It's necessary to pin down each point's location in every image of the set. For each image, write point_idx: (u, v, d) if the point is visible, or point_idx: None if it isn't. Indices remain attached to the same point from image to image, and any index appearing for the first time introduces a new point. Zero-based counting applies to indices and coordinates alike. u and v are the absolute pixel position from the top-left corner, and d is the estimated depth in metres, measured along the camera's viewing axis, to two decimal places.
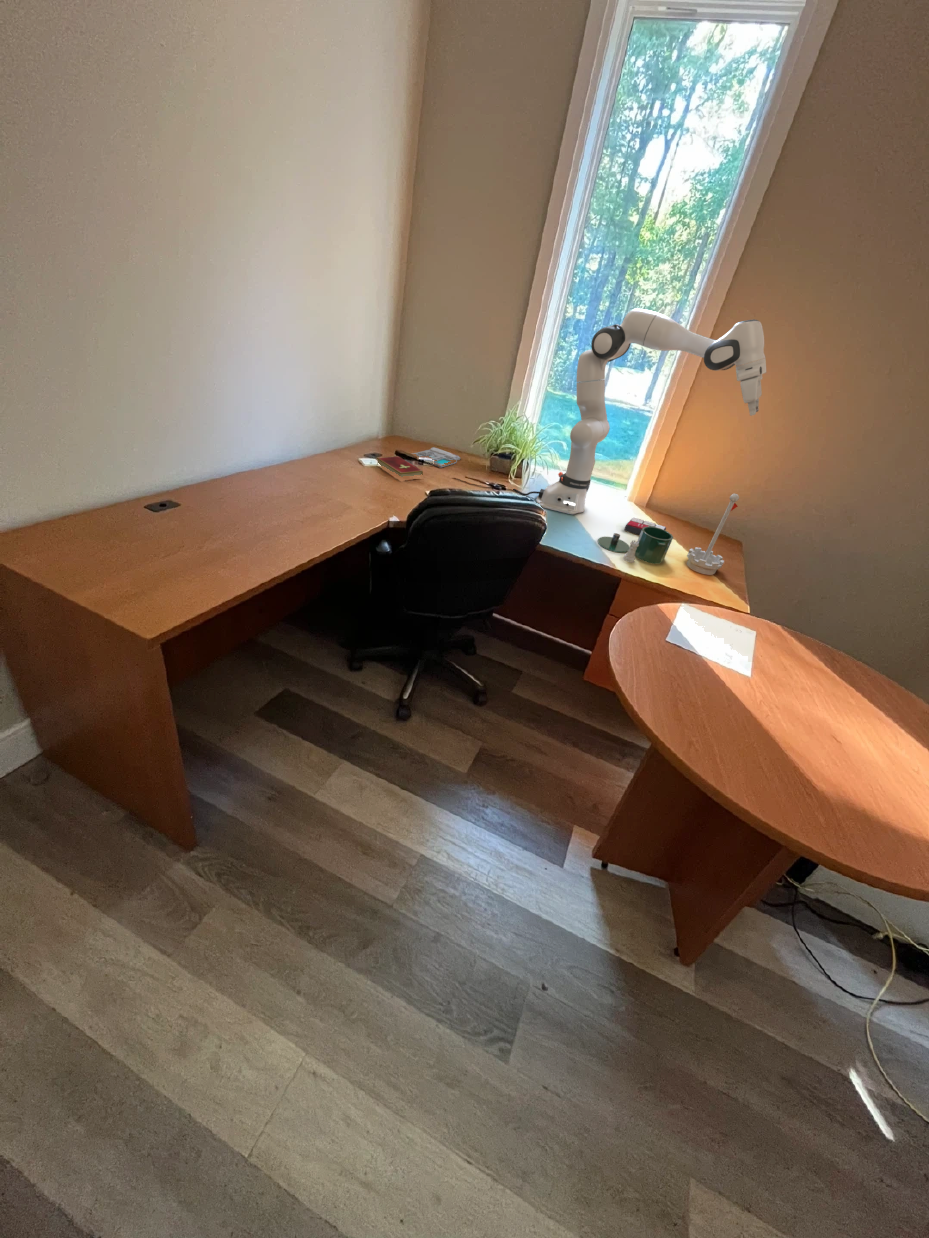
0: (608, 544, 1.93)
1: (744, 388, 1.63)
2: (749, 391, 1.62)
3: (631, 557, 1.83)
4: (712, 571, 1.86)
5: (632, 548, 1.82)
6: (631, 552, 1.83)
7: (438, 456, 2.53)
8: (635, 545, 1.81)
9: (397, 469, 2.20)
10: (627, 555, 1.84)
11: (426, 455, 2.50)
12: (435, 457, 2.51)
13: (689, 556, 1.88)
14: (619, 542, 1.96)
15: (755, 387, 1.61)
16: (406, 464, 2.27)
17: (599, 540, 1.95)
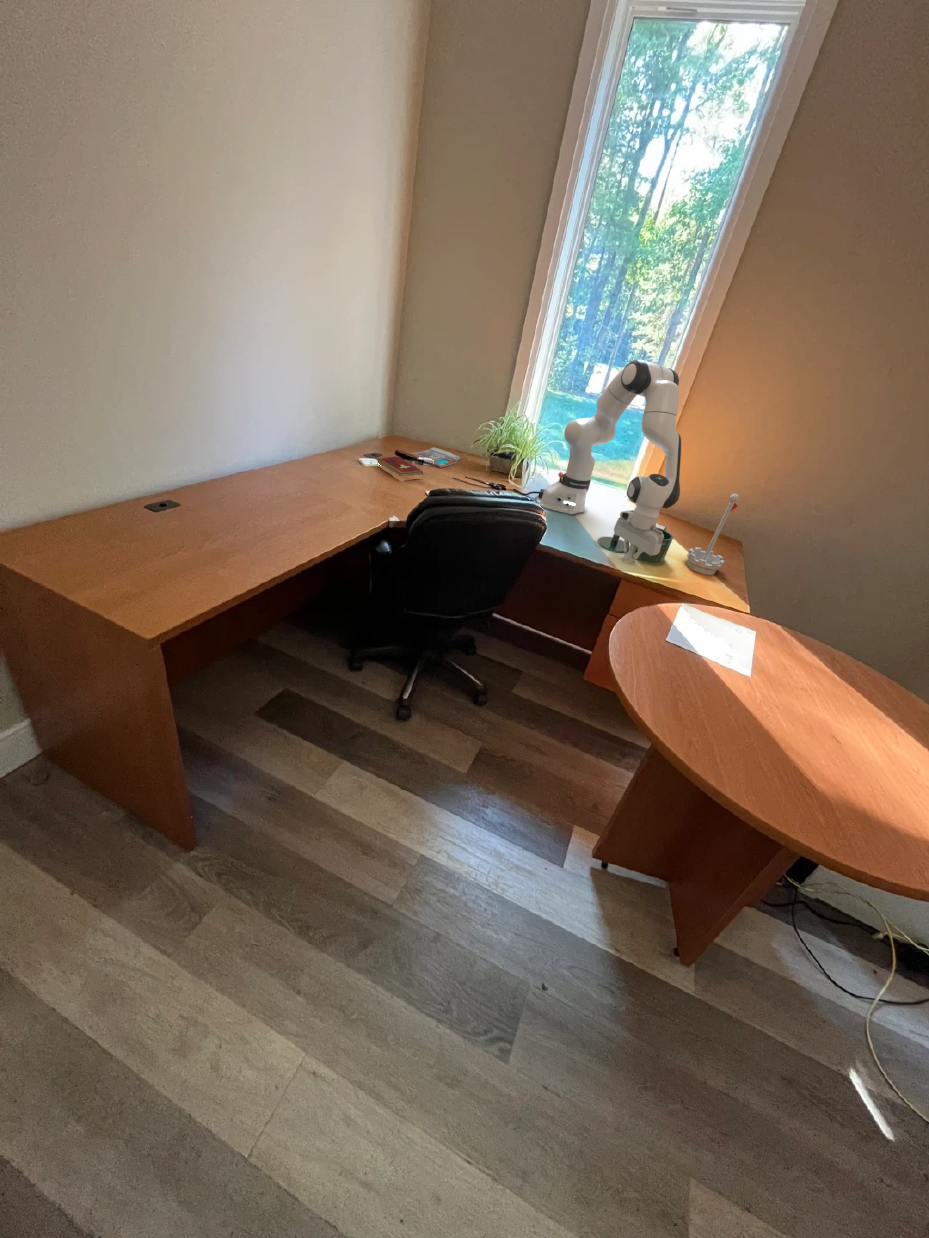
0: (608, 544, 1.93)
1: None
2: None
3: (631, 557, 1.83)
4: (712, 571, 1.86)
5: (632, 548, 1.82)
6: (631, 552, 1.83)
7: (438, 456, 2.53)
8: None
9: (397, 469, 2.20)
10: (627, 555, 1.84)
11: (426, 455, 2.50)
12: (435, 457, 2.51)
13: (689, 556, 1.88)
14: (619, 542, 1.96)
15: None
16: (406, 464, 2.27)
17: (599, 540, 1.95)
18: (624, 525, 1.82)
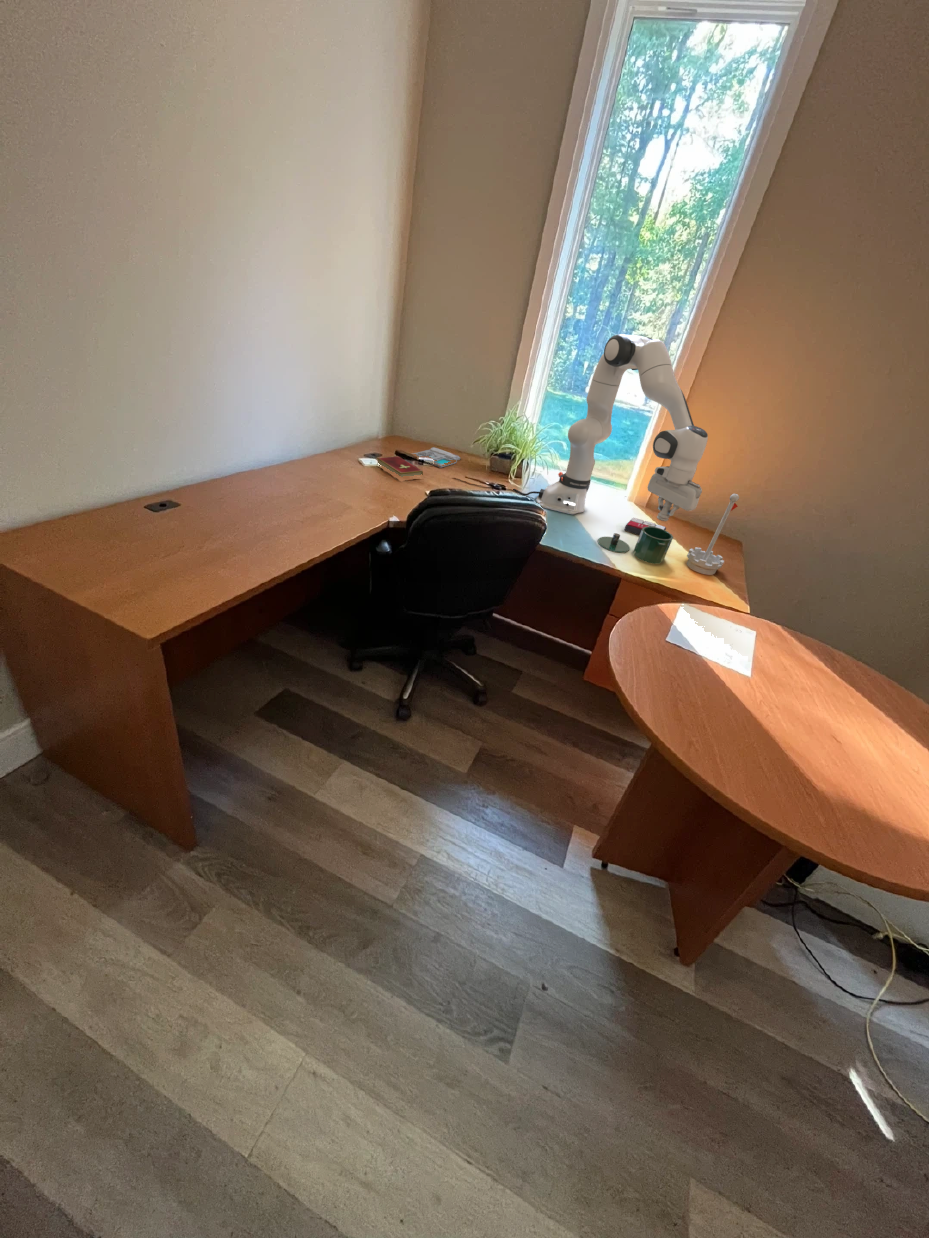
0: (608, 544, 1.93)
1: None
2: None
3: (666, 515, 1.79)
4: (712, 571, 1.86)
5: (667, 505, 1.77)
6: (666, 509, 1.78)
7: (438, 456, 2.53)
8: (670, 502, 1.76)
9: (397, 469, 2.20)
10: (661, 513, 1.79)
11: (426, 455, 2.50)
12: (435, 457, 2.51)
13: (689, 556, 1.88)
14: (619, 542, 1.96)
15: None
16: (406, 464, 2.27)
17: (599, 540, 1.95)
18: (659, 482, 1.78)
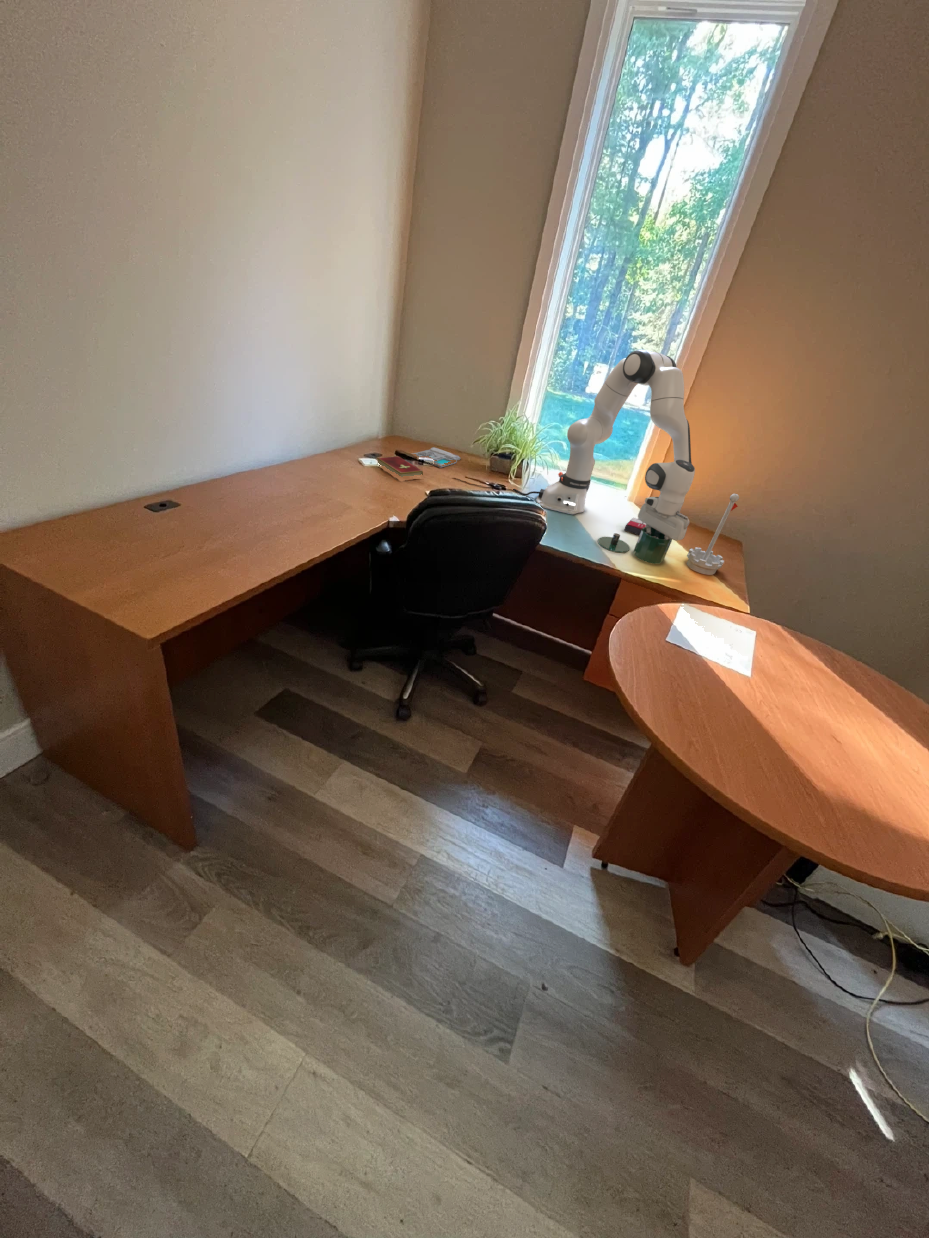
0: (608, 544, 1.93)
1: None
2: None
3: None
4: (712, 571, 1.86)
5: None
6: None
7: (438, 456, 2.53)
8: None
9: (397, 469, 2.20)
10: None
11: (426, 455, 2.50)
12: (435, 457, 2.51)
13: (689, 556, 1.88)
14: (619, 542, 1.96)
15: None
16: (406, 464, 2.27)
17: (599, 540, 1.95)
18: (648, 511, 1.85)
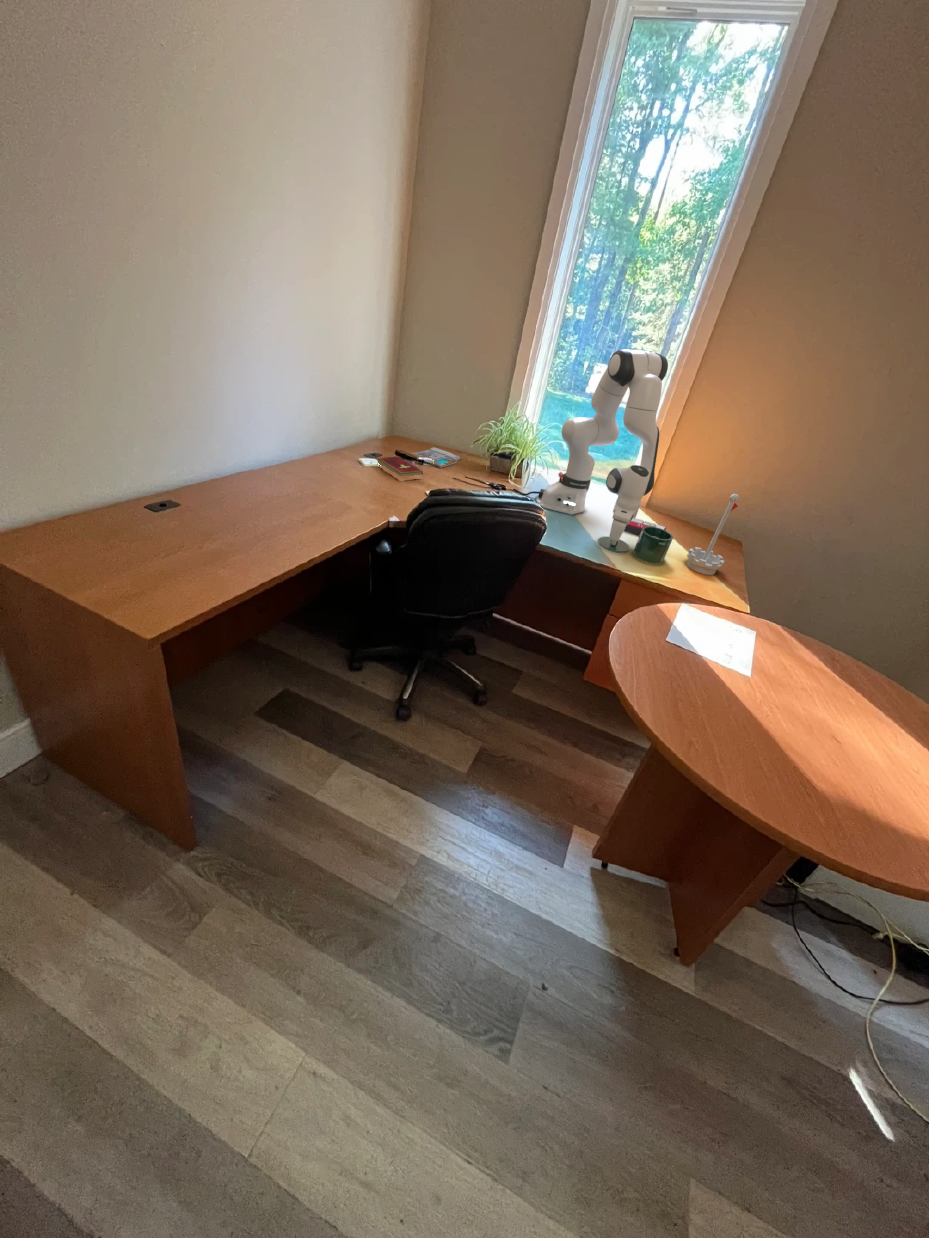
0: (608, 544, 1.93)
1: (614, 527, 1.81)
2: (616, 532, 1.82)
3: None
4: (712, 571, 1.86)
5: None
6: None
7: (438, 456, 2.53)
8: None
9: (397, 469, 2.20)
10: None
11: (426, 455, 2.50)
12: (435, 457, 2.51)
13: (689, 556, 1.88)
14: (619, 542, 1.96)
15: (621, 531, 1.81)
16: (406, 464, 2.28)
17: (599, 540, 1.95)
18: None
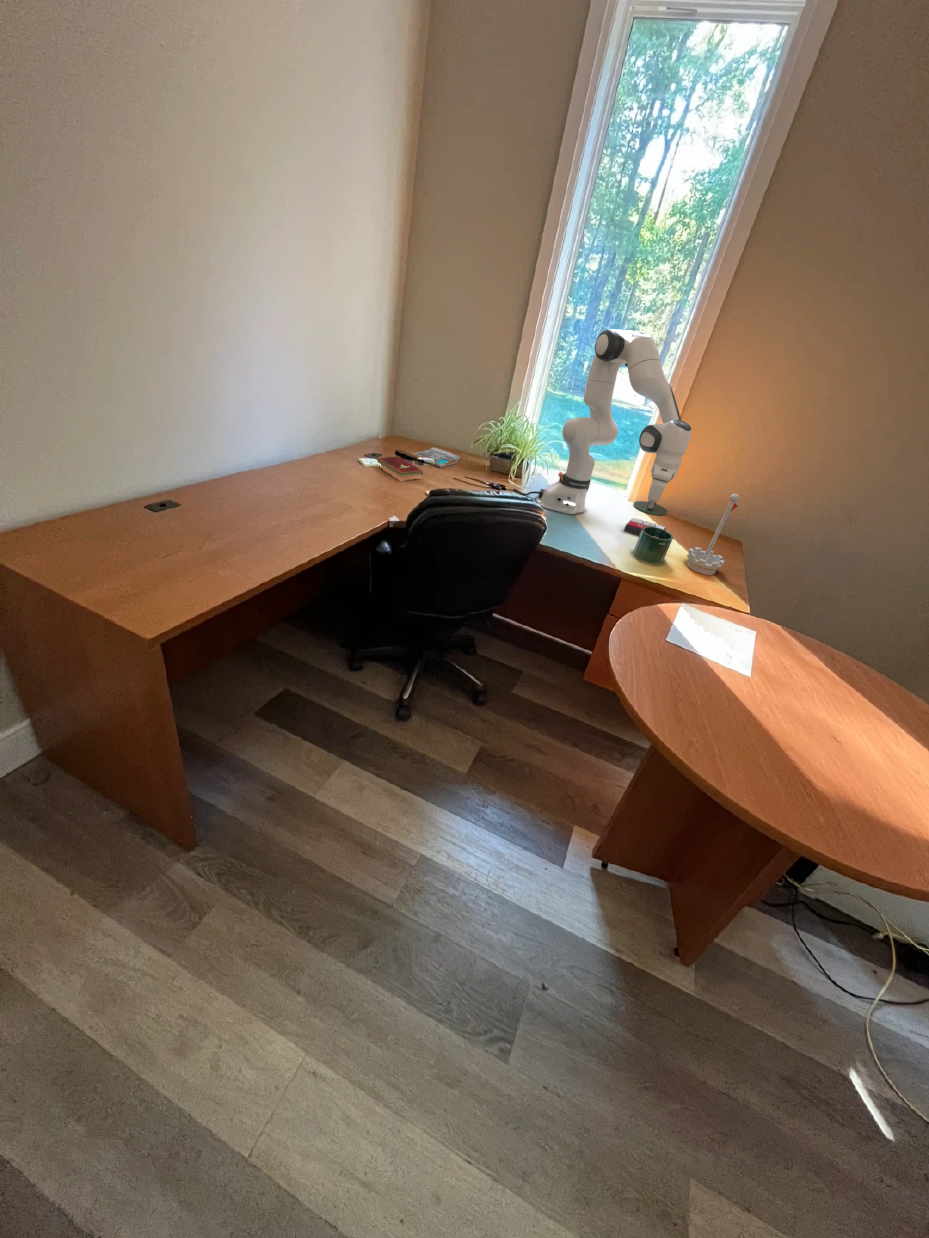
0: (645, 508, 1.80)
1: (653, 487, 1.69)
2: (655, 492, 1.69)
3: None
4: (712, 571, 1.86)
5: None
6: None
7: (438, 456, 2.53)
8: None
9: (397, 469, 2.20)
10: None
11: (426, 455, 2.50)
12: (435, 457, 2.51)
13: (689, 556, 1.88)
14: (656, 506, 1.83)
15: (661, 491, 1.68)
16: (406, 464, 2.28)
17: (635, 504, 1.82)
18: None
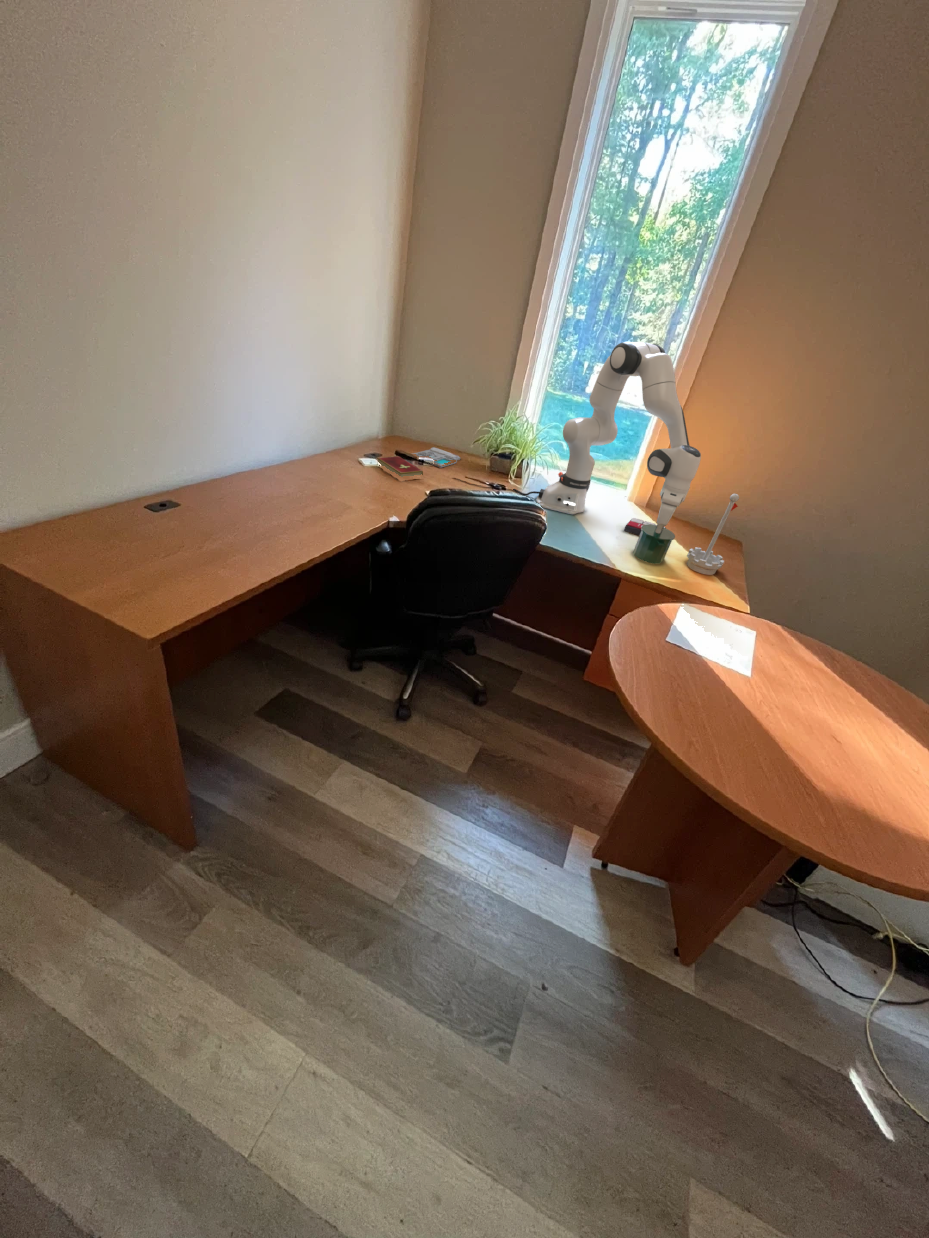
0: (652, 532, 1.83)
1: (662, 511, 1.71)
2: (664, 516, 1.72)
3: None
4: (712, 571, 1.86)
5: None
6: None
7: (438, 456, 2.53)
8: None
9: (397, 469, 2.20)
10: None
11: (426, 455, 2.50)
12: (435, 457, 2.51)
13: (689, 556, 1.88)
14: (663, 530, 1.87)
15: (670, 515, 1.71)
16: (406, 464, 2.28)
17: (643, 528, 1.85)
18: None
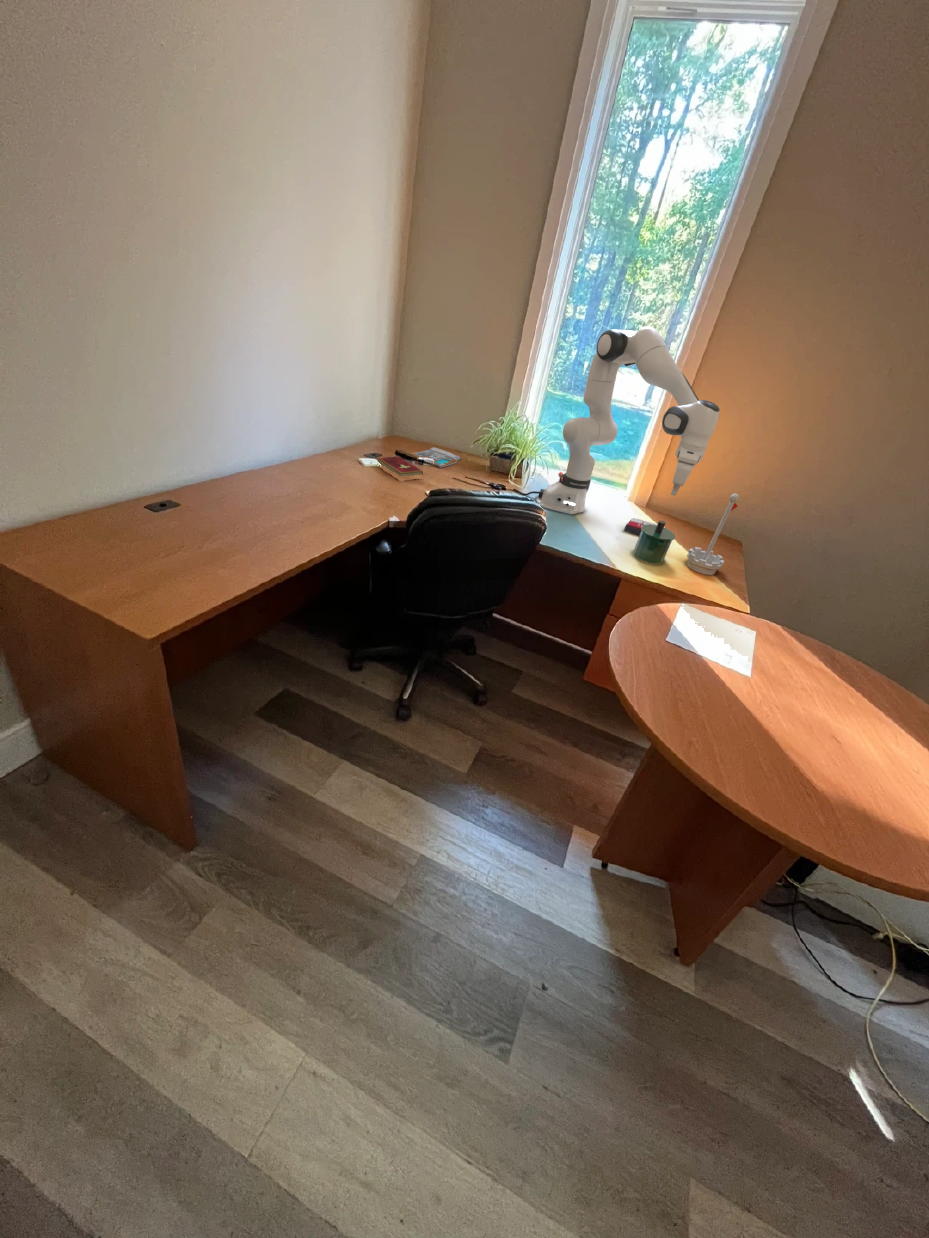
0: (652, 532, 1.83)
1: (678, 470, 1.63)
2: (681, 475, 1.63)
3: None
4: (712, 571, 1.86)
5: None
6: None
7: (438, 456, 2.53)
8: None
9: (397, 469, 2.20)
10: None
11: (426, 455, 2.50)
12: (435, 457, 2.51)
13: (689, 556, 1.88)
14: (663, 530, 1.87)
15: (687, 474, 1.62)
16: (406, 464, 2.28)
17: (643, 528, 1.85)
18: None
